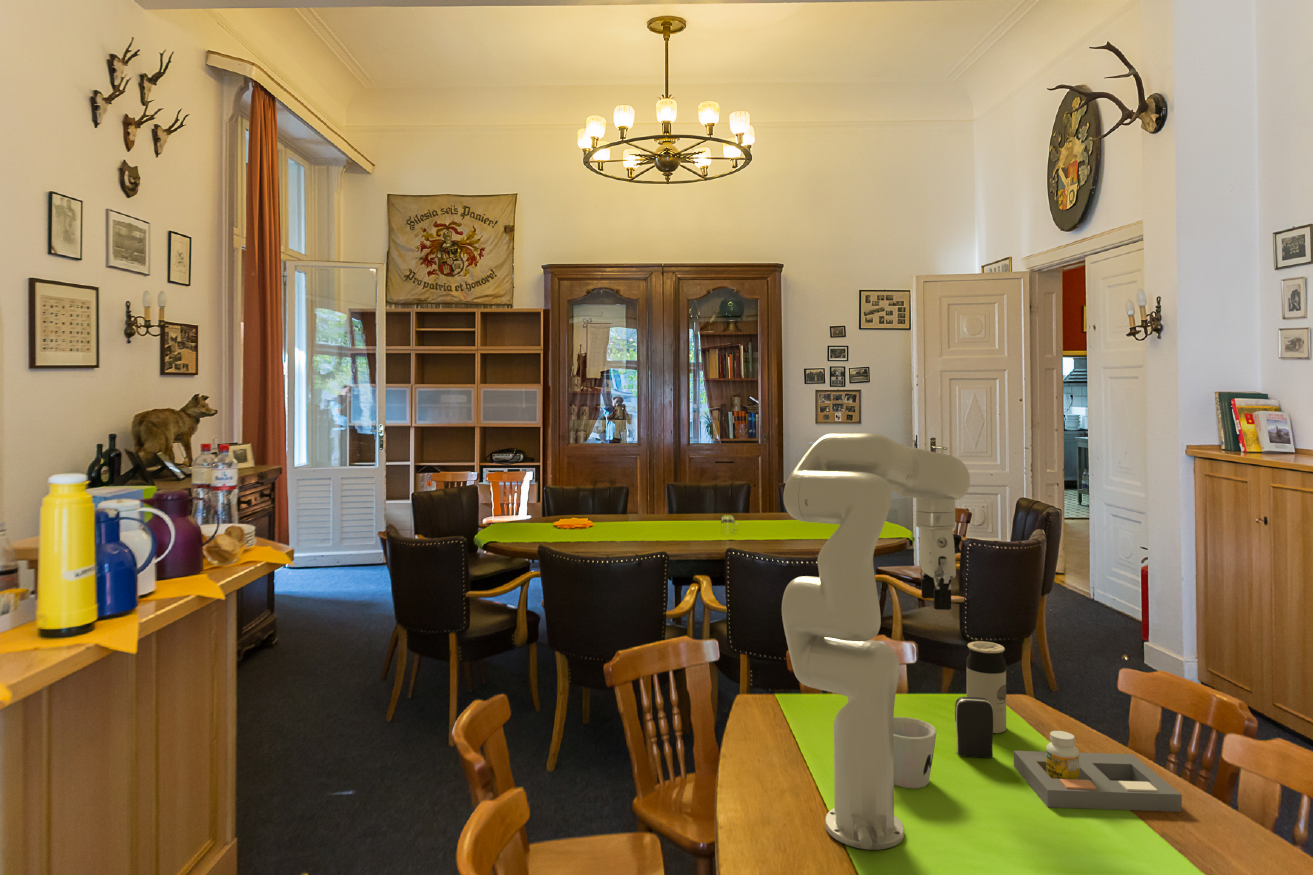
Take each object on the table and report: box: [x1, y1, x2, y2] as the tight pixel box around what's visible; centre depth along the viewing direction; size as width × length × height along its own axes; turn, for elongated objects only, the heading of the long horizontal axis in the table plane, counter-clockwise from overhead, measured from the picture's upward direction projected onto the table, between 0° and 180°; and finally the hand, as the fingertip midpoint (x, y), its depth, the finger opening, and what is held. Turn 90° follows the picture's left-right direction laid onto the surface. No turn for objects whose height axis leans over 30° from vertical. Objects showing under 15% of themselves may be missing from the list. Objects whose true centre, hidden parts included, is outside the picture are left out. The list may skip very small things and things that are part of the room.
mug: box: [893, 716, 937, 789], centre depth 144 cm, size 10×15×10 cm
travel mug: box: [965, 641, 1007, 734], centre depth 167 cm, size 8×8×18 cm
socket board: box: [1013, 750, 1183, 813], centre depth 139 cm, size 16×22×3 cm
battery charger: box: [954, 696, 994, 759], centre depth 154 cm, size 7×4×11 cm, turn 79°
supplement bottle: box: [1045, 730, 1080, 779], centre depth 140 cm, size 5×5×10 cm
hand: (935, 603), depth 155 cm, fingers open, 9 cm apart
